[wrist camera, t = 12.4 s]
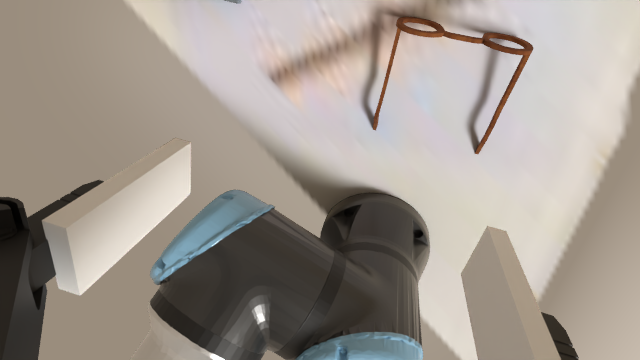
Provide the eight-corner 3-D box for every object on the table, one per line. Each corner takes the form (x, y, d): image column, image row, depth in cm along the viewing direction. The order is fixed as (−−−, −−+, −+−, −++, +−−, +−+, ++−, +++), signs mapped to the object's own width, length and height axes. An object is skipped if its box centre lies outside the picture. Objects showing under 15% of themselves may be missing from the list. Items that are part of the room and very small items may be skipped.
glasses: (526, 38, 36) (543, 44, 31) (477, 152, 42) (486, 170, 38) (398, 14, 37) (398, 16, 33) (370, 128, 44) (367, 143, 39)
